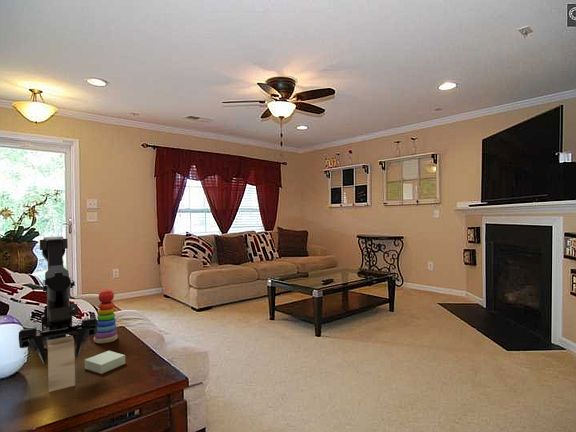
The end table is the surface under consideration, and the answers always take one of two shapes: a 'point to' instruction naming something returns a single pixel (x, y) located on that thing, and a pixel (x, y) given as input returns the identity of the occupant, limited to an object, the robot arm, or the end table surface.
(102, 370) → the sage block
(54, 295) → the robot arm
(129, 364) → the end table surface
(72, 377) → the birch pillar
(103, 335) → the stacking toy
